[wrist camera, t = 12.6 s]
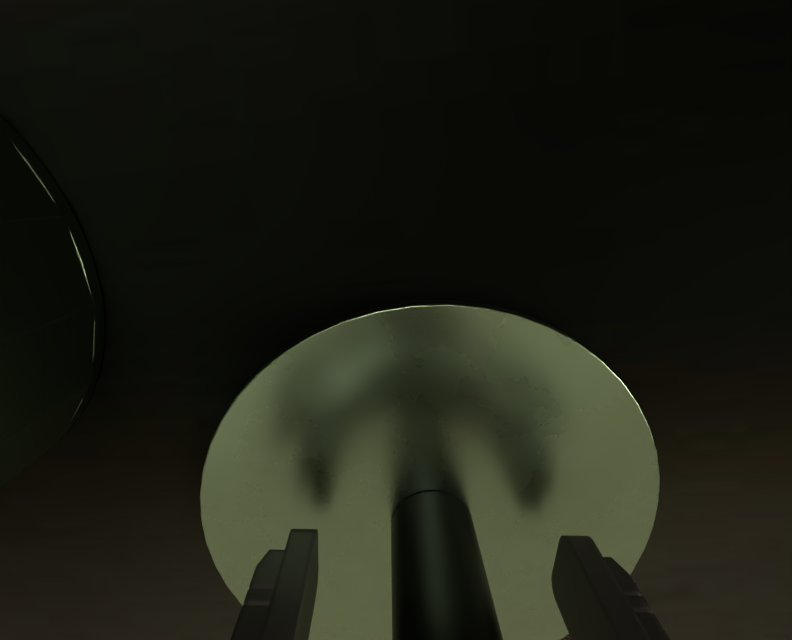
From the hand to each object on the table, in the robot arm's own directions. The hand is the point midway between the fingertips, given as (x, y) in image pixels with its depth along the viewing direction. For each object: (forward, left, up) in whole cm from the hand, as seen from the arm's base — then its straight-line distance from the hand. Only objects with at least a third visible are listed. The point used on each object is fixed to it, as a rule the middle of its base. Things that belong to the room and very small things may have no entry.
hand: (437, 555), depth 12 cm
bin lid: (0, 0, -2) cm, 2 cm away
